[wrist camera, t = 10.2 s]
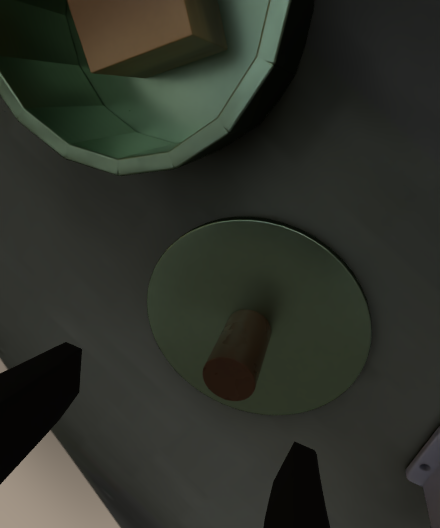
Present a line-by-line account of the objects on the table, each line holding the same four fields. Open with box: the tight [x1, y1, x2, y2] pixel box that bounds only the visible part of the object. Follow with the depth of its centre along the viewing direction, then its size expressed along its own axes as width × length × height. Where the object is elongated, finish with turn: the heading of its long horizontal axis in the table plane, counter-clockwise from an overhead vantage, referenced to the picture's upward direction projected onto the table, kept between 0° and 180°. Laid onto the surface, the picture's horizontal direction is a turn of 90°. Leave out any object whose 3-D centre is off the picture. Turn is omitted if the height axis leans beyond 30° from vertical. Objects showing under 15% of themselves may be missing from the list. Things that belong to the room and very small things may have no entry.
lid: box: [147, 217, 372, 415], centre depth 18 cm, size 12×12×5 cm
